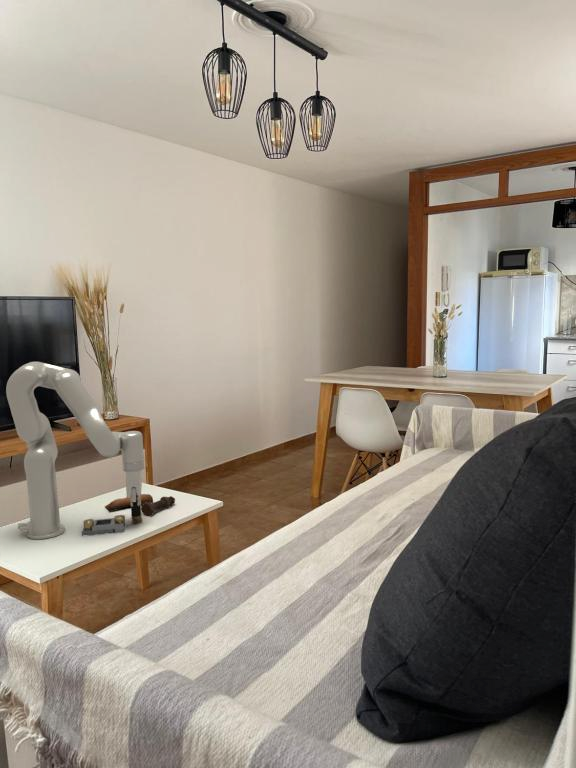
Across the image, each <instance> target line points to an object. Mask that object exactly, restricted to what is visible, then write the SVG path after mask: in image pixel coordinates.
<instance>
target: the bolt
mask: <svg viewBox="0 0 576 768" xmlns="http://www.w3.org/2000/svg"><path fill="white" fill-rule="evenodd" d="M175 503H176V498H175V497H173V496H172V495H171V496H162V497H160V499H159V500H157V501H153V503H152V502H144V503H143V504H141V512H142V514H143V516H145V517H152V516H153V515H154V512H155V511H156V512H157V511H159V510H161V509H164V508H165V509H166V508H167V509H169V508H170V507H171V506H172V505H175ZM167 509H166V510H167Z"/></svg>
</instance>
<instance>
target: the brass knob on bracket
mask: <svg viewBox="0 0 576 768" xmlns="http://www.w3.org/2000/svg"><path fill="white" fill-rule="evenodd" d="M82 523H83V528H82V530H81V536H82V537H84V536H83V535H88V536H96V535H95V534H98V535H106V534H105V533H109V534H114V533H116V534H118V533H117V532H119V533H124V532H125V528H126V516H125V515H124V514H118V515H115V516H114V517H110V518H100V519H93V518H89V519H85V520H83V521H82Z"/></svg>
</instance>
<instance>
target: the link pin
mask: <svg viewBox="0 0 576 768" xmlns="http://www.w3.org/2000/svg"><path fill="white" fill-rule="evenodd" d="M136 497H138V496H136ZM130 500H131V496H130ZM136 500H137V499H136ZM139 505H140V511H141V516H139V517H132V516H131V524H132V525H141V524H142V523H143V515H142V514H143V513H142V510H141V507H142V504H141V497H140V498H139Z"/></svg>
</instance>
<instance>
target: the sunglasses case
mask: <svg viewBox="0 0 576 768" xmlns="http://www.w3.org/2000/svg"><path fill="white" fill-rule="evenodd" d="M144 502H150V503H154V499H153V496H152V495H151V494H148V493H147V494H146V493H141V505H143V503H144ZM104 507H105V508H104V509H105V510H107V512H108V513H110V512H114V511H118V510H121V509H124V508H129V507H131V500H130V498H129V499H127V496H126V497H122V498H121V497H120V498H116V499H114V500H112V501H110V502H109V503H107V505H105V506H104Z"/></svg>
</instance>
